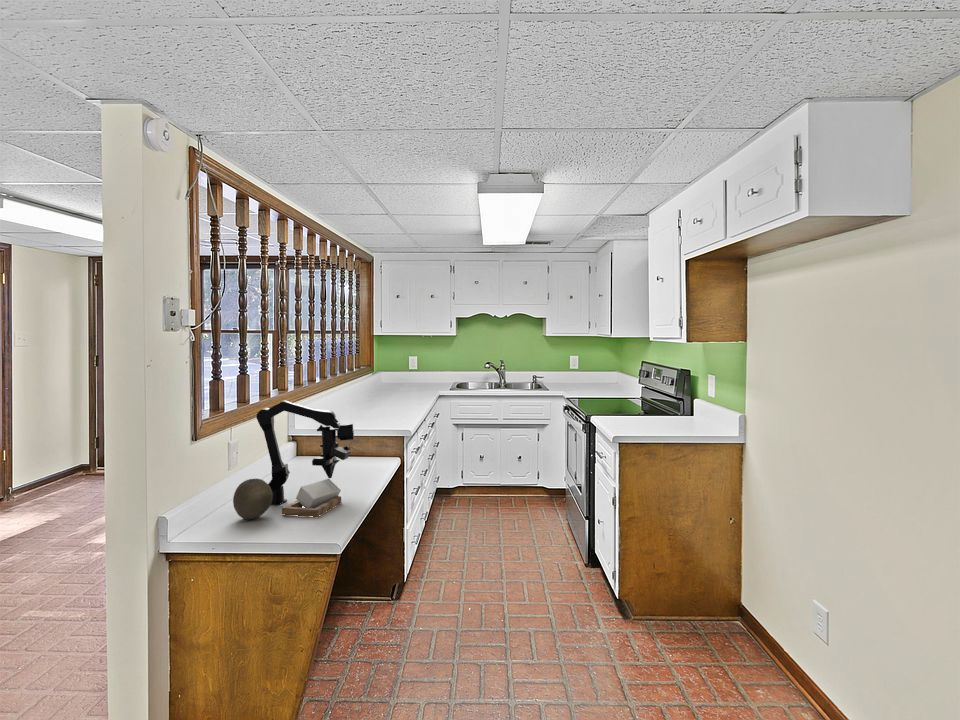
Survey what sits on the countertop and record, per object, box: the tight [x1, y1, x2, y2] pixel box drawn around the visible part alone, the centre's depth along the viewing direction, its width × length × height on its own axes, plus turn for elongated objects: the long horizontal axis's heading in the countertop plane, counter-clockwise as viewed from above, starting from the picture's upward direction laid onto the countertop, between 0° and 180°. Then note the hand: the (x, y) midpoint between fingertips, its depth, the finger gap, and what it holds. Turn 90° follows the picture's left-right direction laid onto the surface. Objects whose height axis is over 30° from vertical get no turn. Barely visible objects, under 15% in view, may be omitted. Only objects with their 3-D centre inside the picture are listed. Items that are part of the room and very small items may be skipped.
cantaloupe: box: [232, 478, 273, 520], centre depth 232 cm, size 14×14×15 cm
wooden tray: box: [281, 495, 342, 518], centre depth 243 cm, size 20×15×3 cm
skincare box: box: [295, 478, 341, 508], centre depth 247 cm, size 8×7×16 cm
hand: (330, 478), depth 257 cm, fingers closed
